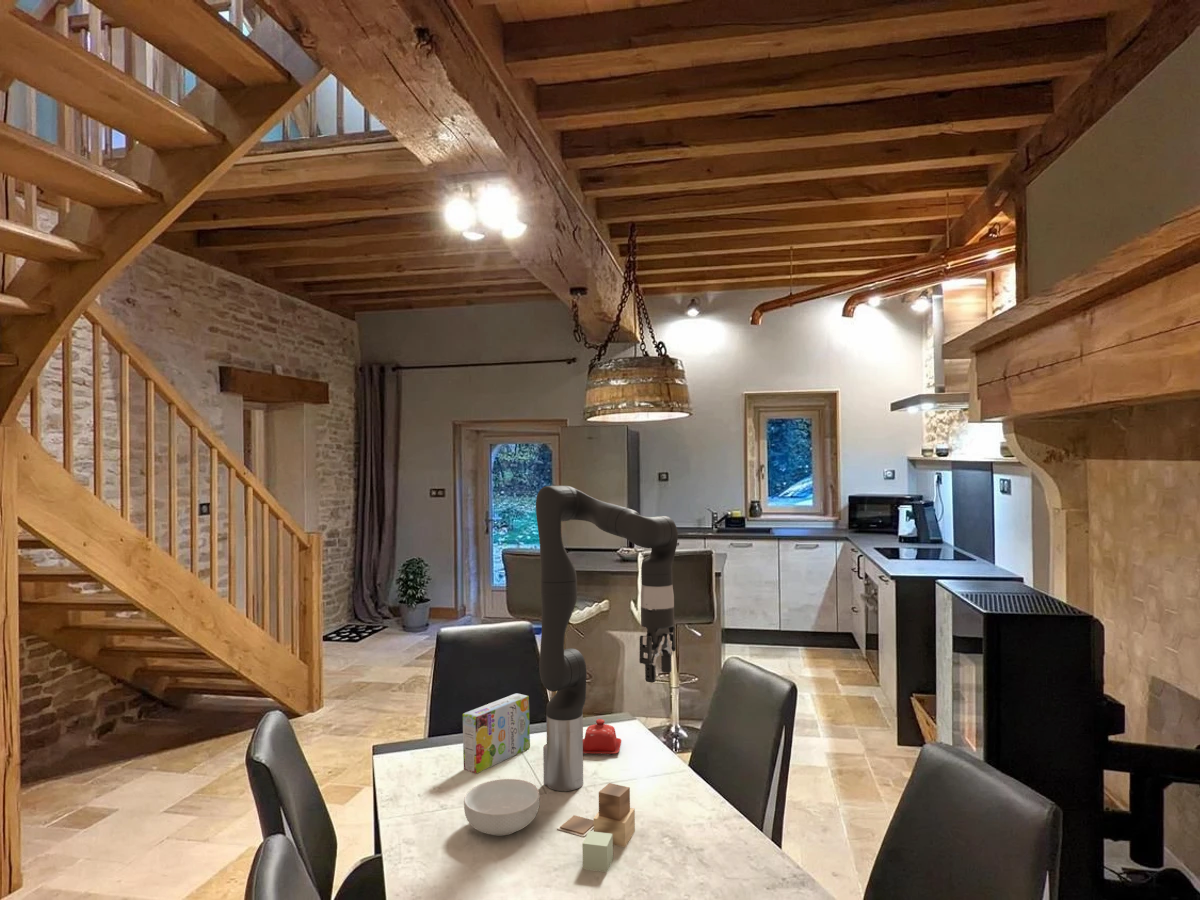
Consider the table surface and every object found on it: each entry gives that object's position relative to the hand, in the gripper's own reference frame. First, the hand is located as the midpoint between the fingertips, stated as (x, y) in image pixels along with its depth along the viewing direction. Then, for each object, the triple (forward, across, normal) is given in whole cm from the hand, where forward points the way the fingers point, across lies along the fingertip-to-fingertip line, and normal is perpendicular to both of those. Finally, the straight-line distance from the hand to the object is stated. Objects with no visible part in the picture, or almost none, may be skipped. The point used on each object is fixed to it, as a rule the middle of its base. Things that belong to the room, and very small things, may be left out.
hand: (658, 676), depth 157 cm
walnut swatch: (+32, +10, -15) cm, 37 cm away
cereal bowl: (+32, +19, -30) cm, 48 cm away
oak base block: (+32, +10, -6) cm, 35 cm away
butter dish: (+32, -30, -33) cm, 55 cm away
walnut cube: (+27, +10, -6) cm, 30 cm away
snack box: (+32, -11, -55) cm, 64 cm away
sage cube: (+32, +21, -4) cm, 39 cm away
